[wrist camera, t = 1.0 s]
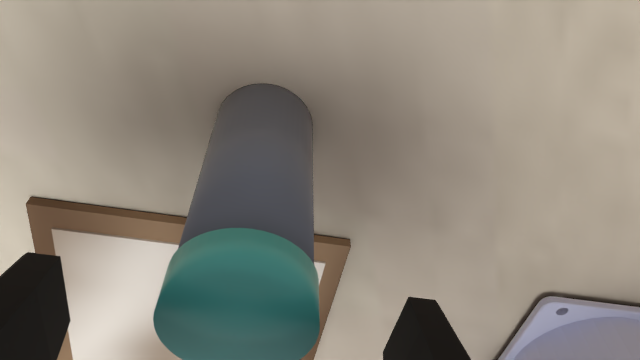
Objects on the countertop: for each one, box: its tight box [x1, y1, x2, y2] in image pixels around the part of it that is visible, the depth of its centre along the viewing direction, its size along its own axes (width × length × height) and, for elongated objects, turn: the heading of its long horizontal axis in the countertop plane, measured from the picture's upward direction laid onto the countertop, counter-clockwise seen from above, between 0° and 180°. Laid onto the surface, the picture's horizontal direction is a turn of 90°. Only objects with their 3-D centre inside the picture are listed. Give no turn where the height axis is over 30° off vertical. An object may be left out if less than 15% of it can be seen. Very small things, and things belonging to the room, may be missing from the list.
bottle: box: [153, 84, 320, 360], centre depth 14 cm, size 3×3×8 cm
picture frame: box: [26, 197, 351, 360], centre depth 23 cm, size 12×16×1 cm
